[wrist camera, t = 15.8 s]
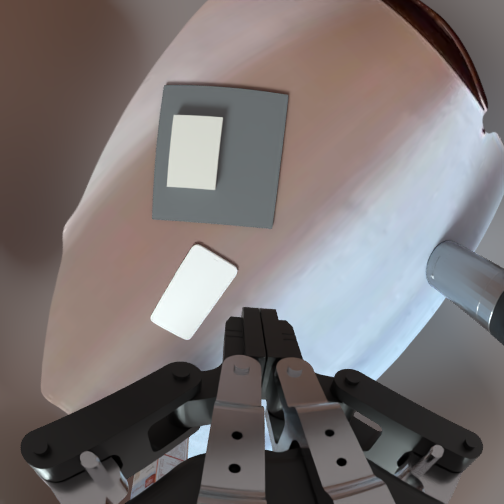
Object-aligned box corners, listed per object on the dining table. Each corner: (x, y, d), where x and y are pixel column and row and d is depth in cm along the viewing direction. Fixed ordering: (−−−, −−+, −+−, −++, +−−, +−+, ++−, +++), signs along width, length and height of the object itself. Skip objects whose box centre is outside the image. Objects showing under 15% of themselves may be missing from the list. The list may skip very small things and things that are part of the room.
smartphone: (148, 319, 41) (194, 242, 37) (149, 317, 41) (195, 240, 38) (188, 341, 43) (240, 269, 39) (189, 338, 43) (240, 267, 40)
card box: (222, 117, 30) (173, 114, 30) (214, 190, 33) (166, 186, 33) (223, 119, 32) (176, 116, 31) (215, 188, 35) (169, 185, 34)
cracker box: (167, 435, 52) (157, 511, 32) (143, 425, 50) (127, 502, 30) (194, 408, 48) (187, 499, 29) (166, 396, 47) (150, 488, 27)
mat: (287, 96, 32) (288, 95, 32) (271, 227, 38) (272, 228, 37) (165, 86, 30) (164, 85, 30) (153, 218, 36) (152, 219, 35)
